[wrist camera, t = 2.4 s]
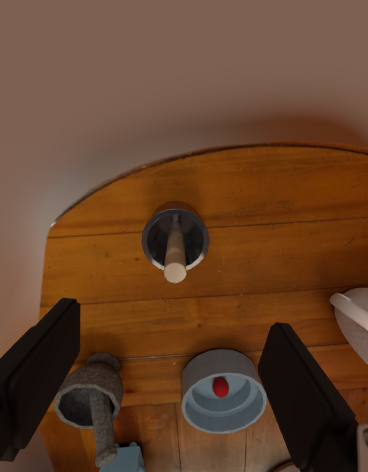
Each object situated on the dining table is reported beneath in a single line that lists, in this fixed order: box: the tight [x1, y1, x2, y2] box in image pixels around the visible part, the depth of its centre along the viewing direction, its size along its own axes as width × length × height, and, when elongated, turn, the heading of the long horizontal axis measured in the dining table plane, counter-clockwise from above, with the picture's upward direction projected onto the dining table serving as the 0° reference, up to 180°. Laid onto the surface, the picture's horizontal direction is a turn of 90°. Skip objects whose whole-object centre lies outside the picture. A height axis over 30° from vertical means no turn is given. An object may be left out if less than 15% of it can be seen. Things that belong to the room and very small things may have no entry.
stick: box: [163, 222, 186, 283], centre depth 22 cm, size 2×2×14 cm
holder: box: [142, 201, 209, 271], centre depth 26 cm, size 8×8×7 cm
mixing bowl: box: [181, 349, 267, 434], centre depth 36 cm, size 14×14×5 cm
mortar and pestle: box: [53, 353, 123, 467], centre depth 31 cm, size 11×9×12 cm
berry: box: [212, 377, 229, 398], centre depth 36 cm, size 3×3×3 cm
